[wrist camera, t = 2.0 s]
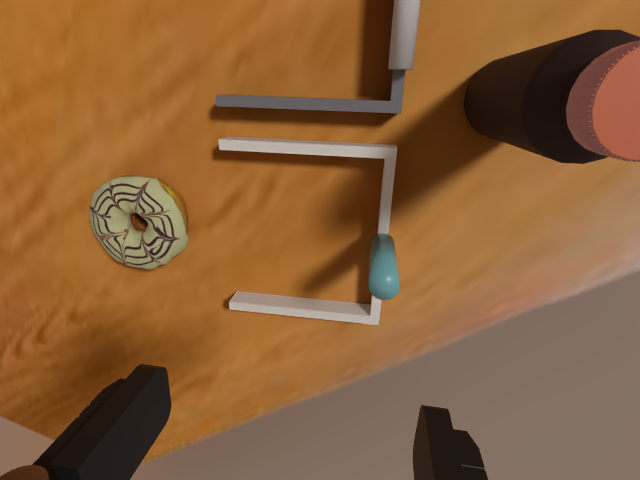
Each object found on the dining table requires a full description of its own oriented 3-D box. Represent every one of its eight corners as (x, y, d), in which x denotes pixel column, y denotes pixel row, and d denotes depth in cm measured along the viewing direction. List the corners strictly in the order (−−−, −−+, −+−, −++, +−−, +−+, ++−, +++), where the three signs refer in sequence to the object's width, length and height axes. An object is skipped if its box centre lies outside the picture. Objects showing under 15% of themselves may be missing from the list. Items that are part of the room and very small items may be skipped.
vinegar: (447, 97, 34) (531, 99, 16) (513, 38, 32) (702, -41, 13) (492, 152, 35) (620, 214, 17) (559, 100, 33) (791, 104, 15)
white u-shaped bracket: (237, 298, 45) (194, 360, 35) (228, 136, 38) (171, 152, 28) (384, 313, 43) (387, 384, 33) (403, 145, 36) (414, 165, 26)
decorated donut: (210, 241, 43) (196, 254, 40) (138, 269, 46) (118, 284, 43) (164, 157, 40) (144, 163, 37) (90, 192, 43) (64, 201, 40)
